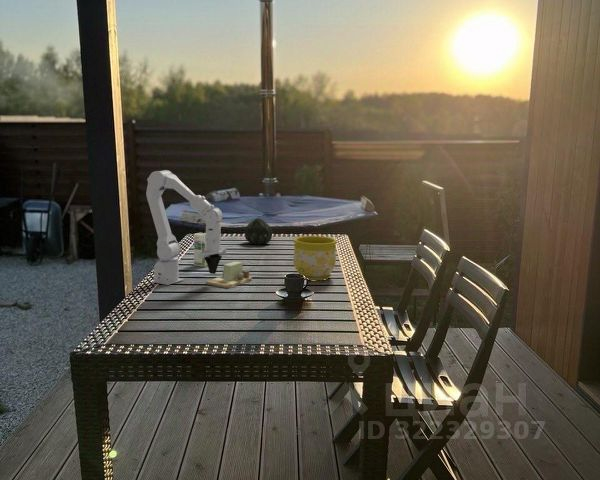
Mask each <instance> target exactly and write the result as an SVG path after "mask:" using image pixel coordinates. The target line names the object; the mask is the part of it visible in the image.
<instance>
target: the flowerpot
mask: <svg viewBox="0 0 600 480" xmlns="http://www.w3.org/2000/svg"><path fill="white" fill-rule="evenodd" d="M293 243H294V245H293V246H294V249H293V265H294V268H295V270H296V272H297V273H299V274H302V275H304V276H305V277H306V278H308V279H309V280H324V279H328V278H329V279H330V278H331V276H332V274H331V273H332V272H333V270H334V268H335V266H336V263H337V253H336V248H337V247H336V246H337V245H336V244H338V241H337V240H336V239H335V238H332V237H328V236H322V235H321V236H319V235H317V236H316V235H305V236H298V237H297V236H296V237H295V238H294V239H293ZM329 279H328V280H329Z"/></svg>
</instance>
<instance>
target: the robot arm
mask: <svg viewBox="0 0 600 480" xmlns="http://www.w3.org/2000/svg"><path fill="white" fill-rule="evenodd" d="M146 181H147V187H146V193H145V194H146V200H147V203H148V205H149V209H150V213H151V216H152V219H153V223H154V228H155V230H156V234H157V237H158V238H157V241H156V246H157V250H156V255H157V257H158V258H159V261H158V262H156V263H155V264H154V266H153V275H154V276H153V277H154V278H153V280H152V282H153V283H157V284H160V285H166V286H168V285H172V284H176V283H178V282H182V281H184V278H180V277H179V274H180V273H179V272H180V271H179V269H180V268H179V255H180V253H181V251H182V247H181V245H180V243H179V242H178V240H177V238H176V236H175V235H174V234H173V233H172V230H171V226H170V222H169V220H168V216H167V213H166V209H165V205H164V201H163V198H162V195H163V193H164V191H165V190H167V189H173V190H174V191H176V192H177V193H179V194H180V195H181V196H182V197H183V198H185V199H186V200H187V201H188V202H189V205H190V207H191V208H192V209H193V210H194V211H195V212H197V213H198V214H199V215H200V216H201V217H203V222H204V223H205V233H206V250H204V251H203V252H201V253H199V258H202V259H203V258H204V259H205V260H206V262H207V265H208V266H207V267H208V272H209V274H211V275H215V274H216V273H217V270H218V266H219V263H220V262H221V260H222V258H223V257H222V255H221V254H227V247H221V236H222V235H221V233H222V232H221V221H222V220H223V217H224V216H223V215H224V213H223V212H222V210H221V209H220V207H215V205H214V204H211V203H210V201H208V200H207V199H206V197H205V196H204V195H201V194H197V195H196V194H195V193H194V192H193V191H192V190H191V189H190V188H189V187H187V185H186V184H184V183H183V182H182V181H181V180H180V179H179V177H178V176H177V175H176V174H175V173H173V172H172V171H170V170H168V169H164V170H156V171H153V172H151V173H150V175H149V176H148V177H147V179H146Z"/></svg>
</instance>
